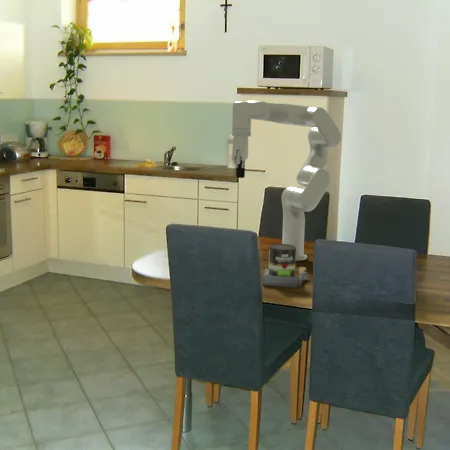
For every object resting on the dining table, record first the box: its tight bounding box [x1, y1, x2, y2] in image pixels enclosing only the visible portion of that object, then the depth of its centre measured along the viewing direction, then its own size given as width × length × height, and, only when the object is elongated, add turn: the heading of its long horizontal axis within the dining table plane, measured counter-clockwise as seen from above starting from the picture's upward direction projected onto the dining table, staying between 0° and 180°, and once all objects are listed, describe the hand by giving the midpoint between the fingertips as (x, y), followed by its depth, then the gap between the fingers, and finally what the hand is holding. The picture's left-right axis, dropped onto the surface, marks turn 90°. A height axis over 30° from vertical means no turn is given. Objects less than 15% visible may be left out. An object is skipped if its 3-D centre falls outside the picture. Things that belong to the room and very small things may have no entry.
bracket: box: [261, 268, 308, 289], centre depth 265 cm, size 13×17×4 cm
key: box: [298, 266, 307, 275], centre depth 280 cm, size 7×3×1 cm, turn 166°
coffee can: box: [268, 243, 296, 277], centre depth 263 cm, size 10×10×14 cm
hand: (240, 177), depth 281 cm, fingers closed
